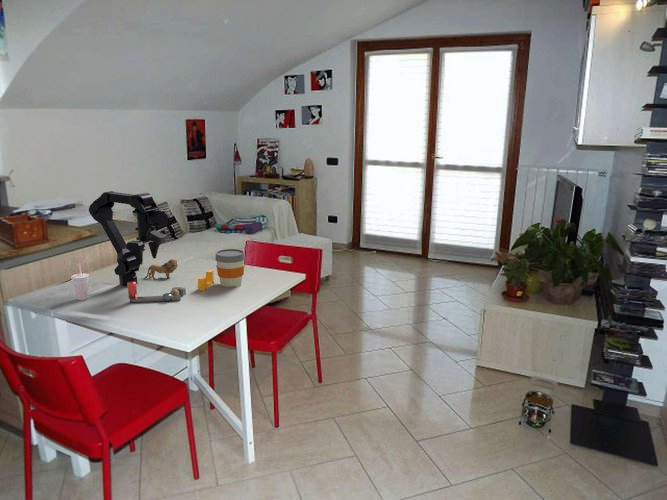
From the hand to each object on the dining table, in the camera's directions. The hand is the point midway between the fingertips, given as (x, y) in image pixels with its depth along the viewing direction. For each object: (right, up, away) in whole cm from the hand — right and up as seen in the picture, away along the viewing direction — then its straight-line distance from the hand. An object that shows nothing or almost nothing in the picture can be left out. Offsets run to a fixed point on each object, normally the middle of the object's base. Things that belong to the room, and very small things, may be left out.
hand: (147, 261), depth 207 cm
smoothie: (-24, -15, -7) cm, 29 cm away
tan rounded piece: (+13, -14, -6) cm, 21 cm away
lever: (+7, -15, -11) cm, 20 cm away
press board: (+3, -16, -9) cm, 19 cm away
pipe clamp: (+21, -12, +8) cm, 26 cm away
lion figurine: (0, -8, +19) cm, 21 cm away
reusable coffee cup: (+32, -11, +12) cm, 36 cm away
